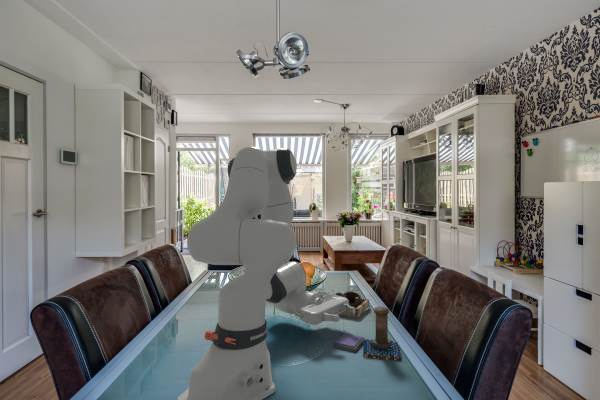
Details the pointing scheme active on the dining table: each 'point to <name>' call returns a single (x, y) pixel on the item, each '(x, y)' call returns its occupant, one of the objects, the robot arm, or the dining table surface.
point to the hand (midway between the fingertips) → (346, 314)
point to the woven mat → (381, 351)
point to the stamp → (381, 329)
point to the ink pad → (349, 342)
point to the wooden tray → (359, 309)
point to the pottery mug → (351, 298)
